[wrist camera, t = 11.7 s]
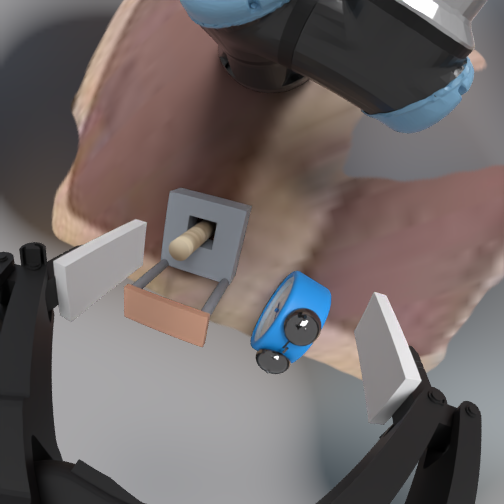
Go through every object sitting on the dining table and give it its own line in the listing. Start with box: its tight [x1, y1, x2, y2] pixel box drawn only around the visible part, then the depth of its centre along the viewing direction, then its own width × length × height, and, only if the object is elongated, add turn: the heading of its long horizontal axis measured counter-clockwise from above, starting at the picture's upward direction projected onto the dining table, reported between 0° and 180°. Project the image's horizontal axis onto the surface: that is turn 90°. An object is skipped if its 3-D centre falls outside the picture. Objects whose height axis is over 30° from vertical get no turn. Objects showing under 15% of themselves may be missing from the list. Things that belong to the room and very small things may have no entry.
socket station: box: [124, 188, 252, 347], centre depth 39 cm, size 16×12×15 cm
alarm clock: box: [251, 271, 331, 374], centre depth 40 cm, size 13×6×15 cm, turn 150°
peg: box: [169, 219, 217, 261], centre depth 40 cm, size 3×3×12 cm
